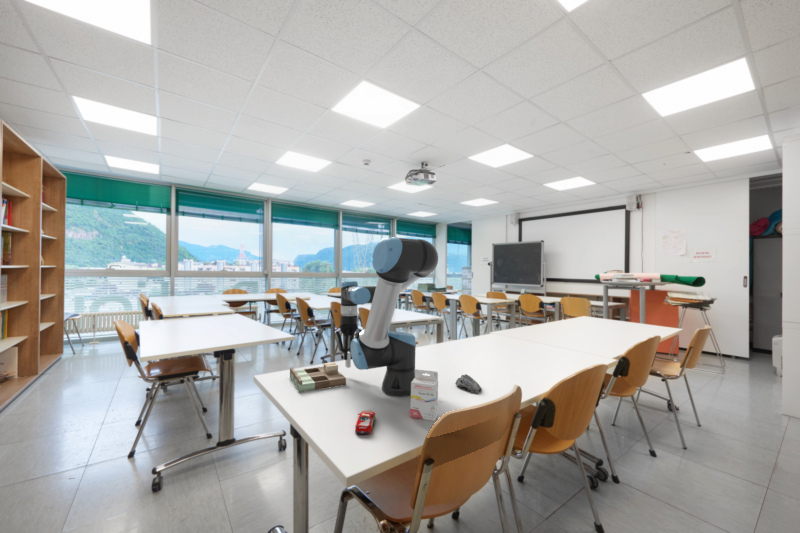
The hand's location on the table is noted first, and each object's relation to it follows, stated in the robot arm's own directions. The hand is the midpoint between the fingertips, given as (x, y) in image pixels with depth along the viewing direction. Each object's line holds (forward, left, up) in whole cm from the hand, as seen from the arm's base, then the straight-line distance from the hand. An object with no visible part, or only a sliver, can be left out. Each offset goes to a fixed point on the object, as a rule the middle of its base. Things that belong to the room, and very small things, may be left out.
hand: (347, 366), depth 149 cm
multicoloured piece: (0, +14, -4) cm, 15 cm away
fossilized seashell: (-36, -40, -5) cm, 54 cm away
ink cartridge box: (-50, -8, -5) cm, 51 cm away
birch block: (0, +8, -1) cm, 8 cm away
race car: (-47, +11, -5) cm, 49 cm away
